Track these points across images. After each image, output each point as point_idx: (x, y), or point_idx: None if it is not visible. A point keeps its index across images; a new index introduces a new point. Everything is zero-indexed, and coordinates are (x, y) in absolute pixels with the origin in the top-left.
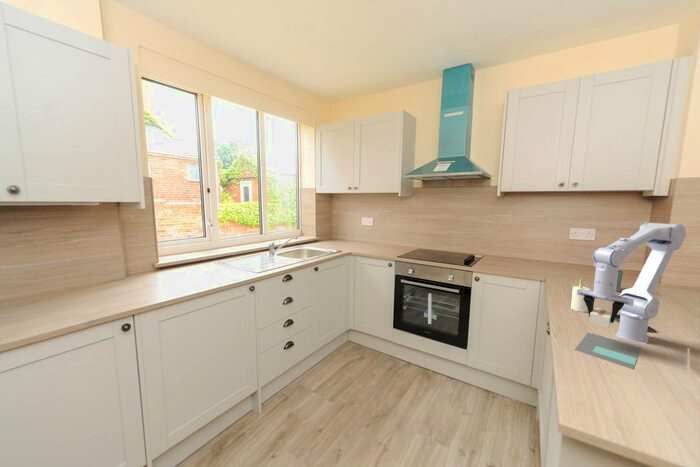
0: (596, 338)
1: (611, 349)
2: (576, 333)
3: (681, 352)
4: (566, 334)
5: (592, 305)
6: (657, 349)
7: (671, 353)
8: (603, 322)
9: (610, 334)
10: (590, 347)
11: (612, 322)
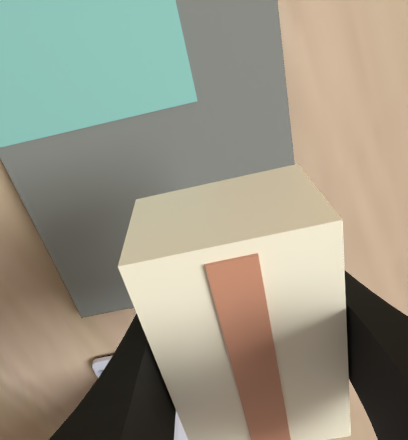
0: None
1: (126, 142)
2: (347, 213)
3: (9, 410)
4: (388, 135)
5: (389, 407)
6: (56, 365)
7: (14, 373)
8: (178, 211)
9: None
10: (206, 30)
11: None
